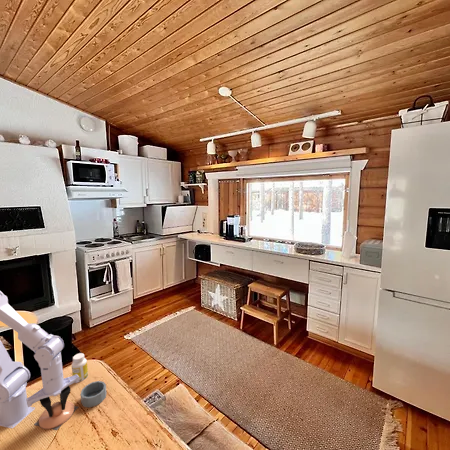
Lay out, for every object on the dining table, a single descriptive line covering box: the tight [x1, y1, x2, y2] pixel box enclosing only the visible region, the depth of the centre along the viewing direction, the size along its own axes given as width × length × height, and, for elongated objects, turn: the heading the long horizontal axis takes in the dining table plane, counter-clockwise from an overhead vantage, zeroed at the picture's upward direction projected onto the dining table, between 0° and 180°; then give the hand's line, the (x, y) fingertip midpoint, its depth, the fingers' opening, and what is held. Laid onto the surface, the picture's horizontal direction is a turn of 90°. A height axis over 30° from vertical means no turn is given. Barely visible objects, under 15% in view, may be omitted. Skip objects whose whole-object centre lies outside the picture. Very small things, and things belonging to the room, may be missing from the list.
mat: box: [33, 405, 79, 431], centre depth 86 cm, size 9×9×1 cm
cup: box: [79, 380, 107, 408], centre depth 93 cm, size 8×8×4 cm
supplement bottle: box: [71, 352, 89, 383], centre depth 103 cm, size 5×5×10 cm
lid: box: [38, 400, 75, 430], centre depth 86 cm, size 10×10×4 cm
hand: (56, 411), depth 86 cm, fingers closed on lid, 3 cm apart
